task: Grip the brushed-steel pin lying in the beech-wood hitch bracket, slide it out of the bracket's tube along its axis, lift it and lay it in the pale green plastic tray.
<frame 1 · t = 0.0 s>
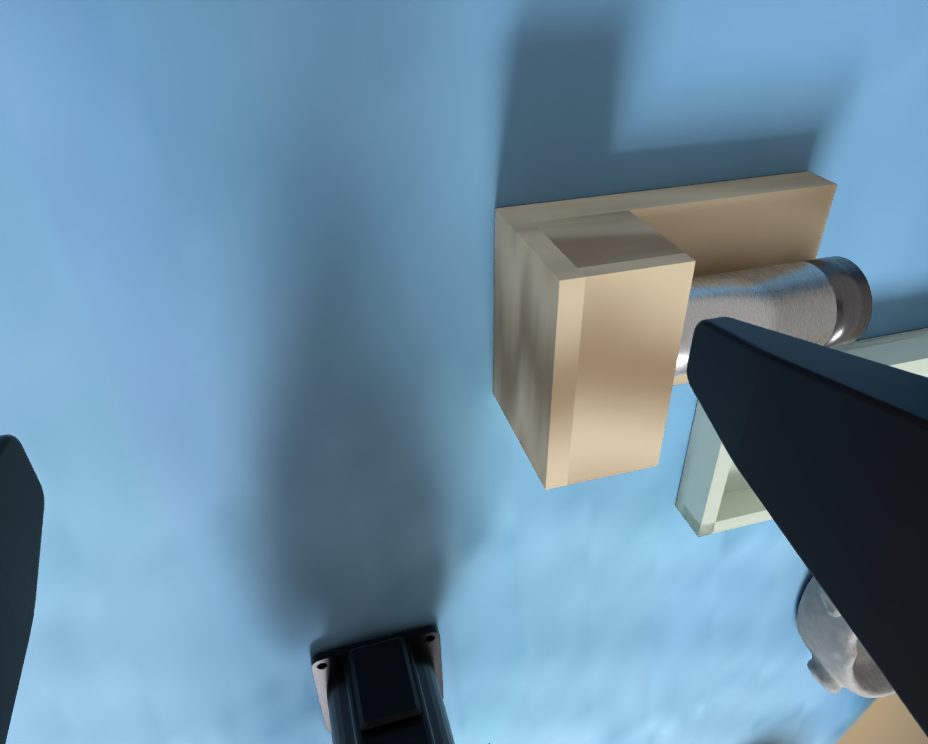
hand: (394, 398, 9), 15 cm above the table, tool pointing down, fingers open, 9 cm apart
bracket: (655, 284, 28), on the table
pin: (709, 322, 25), point 3 cm above the table, touching bracket
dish: (873, 565, 46), on the table
tray: (825, 414, 35), on the table
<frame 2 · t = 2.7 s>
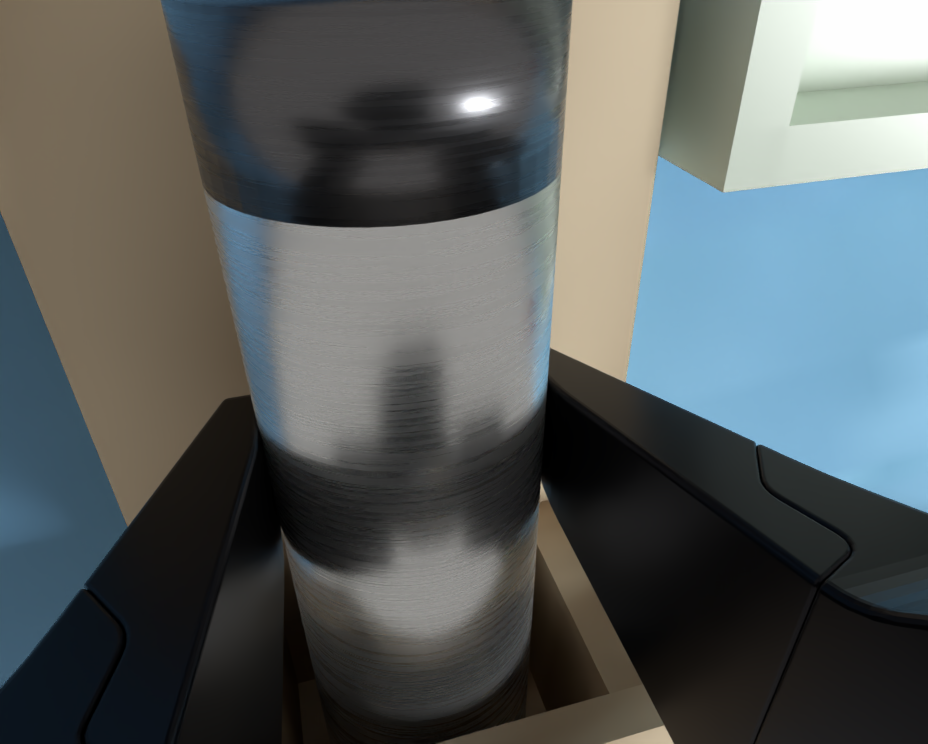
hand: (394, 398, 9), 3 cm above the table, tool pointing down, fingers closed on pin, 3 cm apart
bracket: (369, 362, 12), on the table
pin: (408, 470, 9), point 3 cm above the table, touching bracket, gripper
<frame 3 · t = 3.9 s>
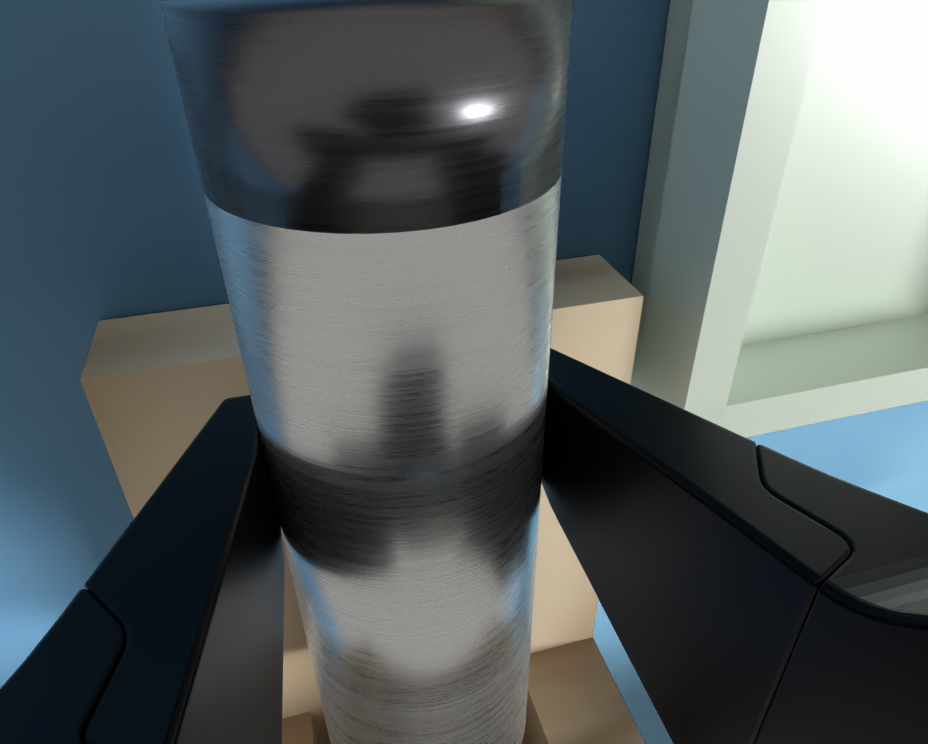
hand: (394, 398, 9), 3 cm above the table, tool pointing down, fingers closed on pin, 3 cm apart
bracket: (394, 544, 14), on the table
pin: (409, 472, 9), point 3 cm above the table, touching gripper
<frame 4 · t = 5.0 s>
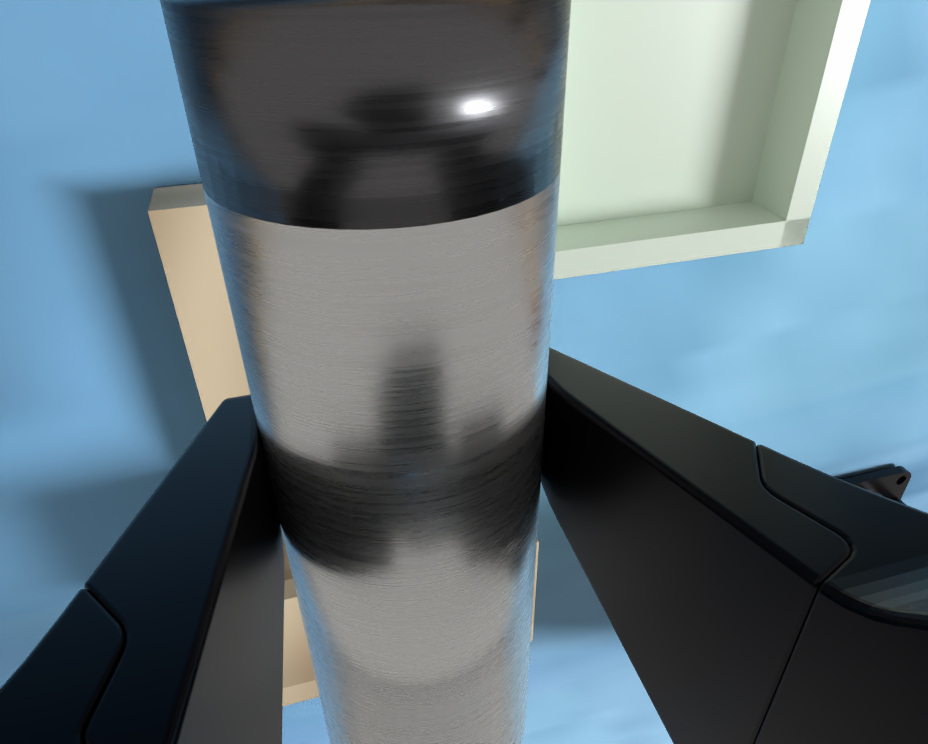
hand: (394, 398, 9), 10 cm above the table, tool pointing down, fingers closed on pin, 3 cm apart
bracket: (347, 369, 21), on the table
pin: (408, 470, 9), point 11 cm above the table, touching gripper
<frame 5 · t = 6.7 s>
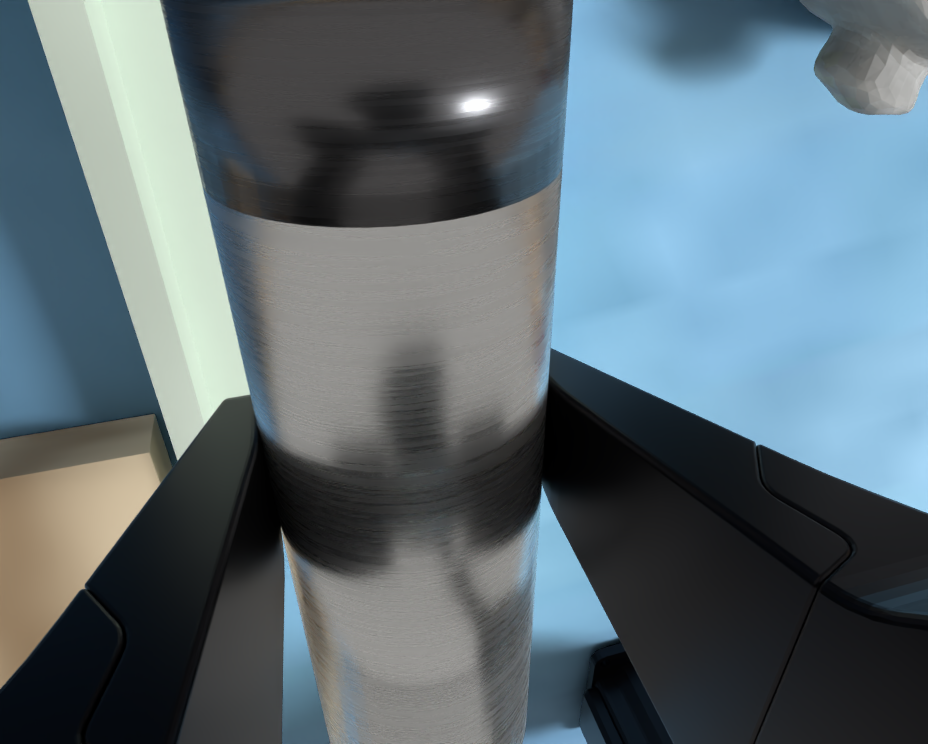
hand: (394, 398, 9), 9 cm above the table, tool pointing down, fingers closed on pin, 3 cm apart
bracket: (65, 598, 20), on the table
pin: (409, 470, 9), point 9 cm above the table, touching gripper
tray: (323, 206, 16), on the table
when the fingers open (3 cm above the table, at t = 7.8 s): pin drops 2 cm, resting on tray.
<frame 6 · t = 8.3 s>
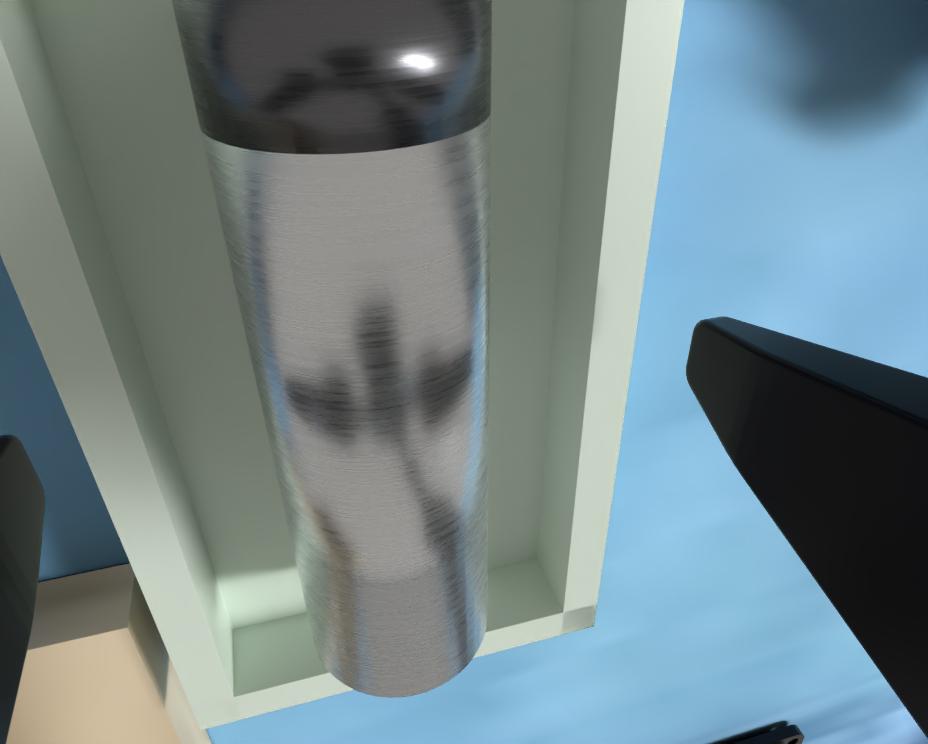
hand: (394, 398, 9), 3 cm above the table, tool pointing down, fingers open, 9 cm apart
pin: (376, 385, 11), point 2 cm above the table, touching tray
tray: (357, 308, 12), on the table
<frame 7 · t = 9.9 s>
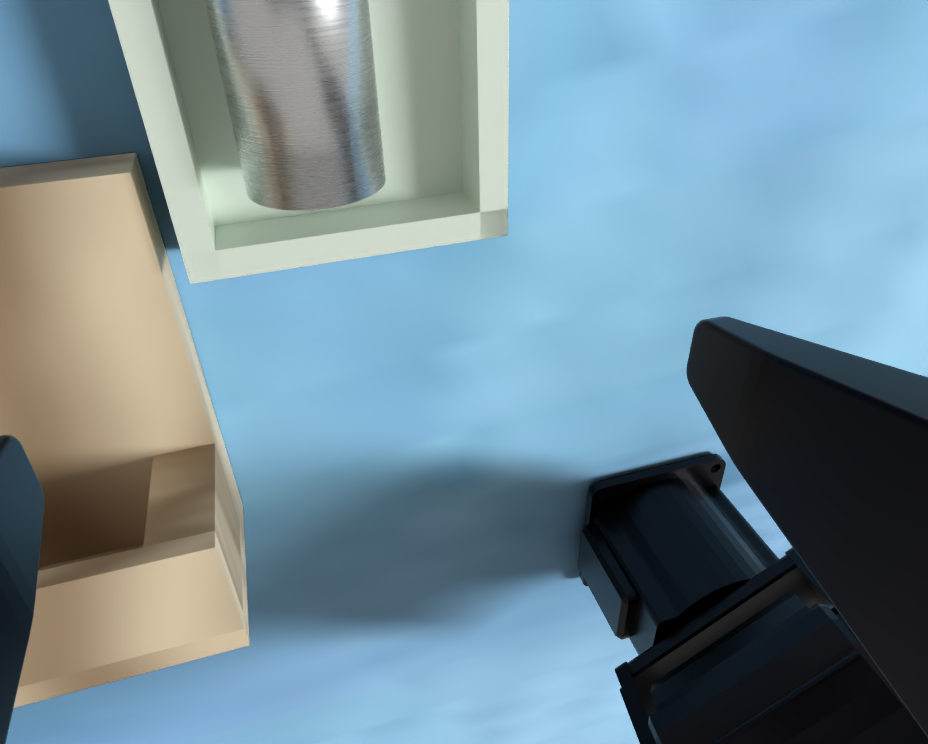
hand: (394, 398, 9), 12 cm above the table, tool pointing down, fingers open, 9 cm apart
bracket: (53, 373, 20), on the table
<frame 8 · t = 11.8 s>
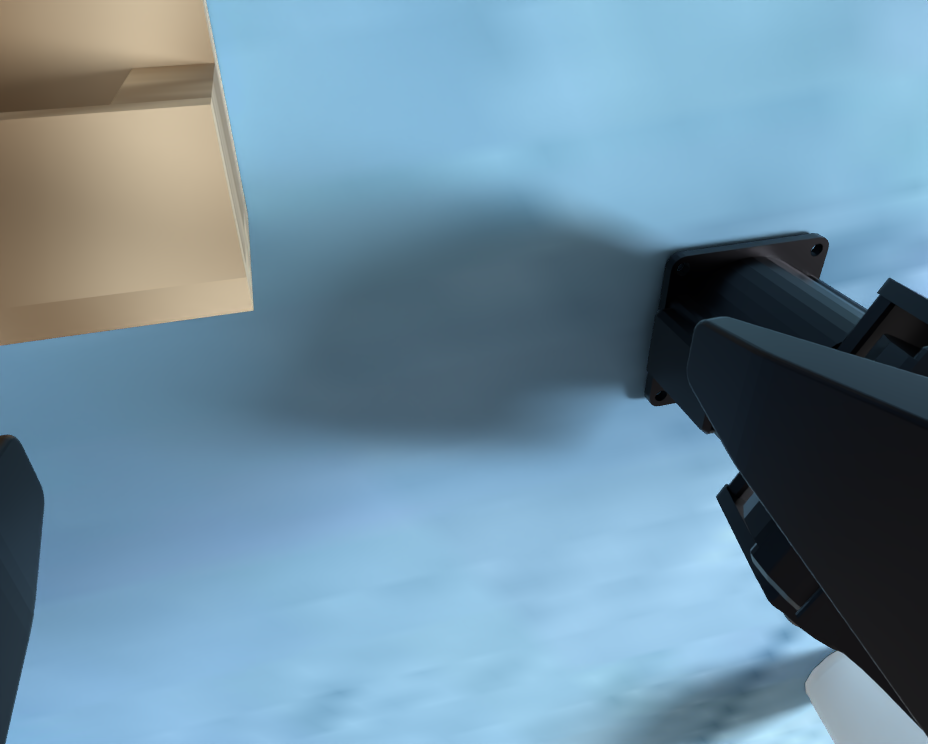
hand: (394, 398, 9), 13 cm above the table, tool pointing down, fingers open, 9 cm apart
foam cup: (843, 665, 47), on the table
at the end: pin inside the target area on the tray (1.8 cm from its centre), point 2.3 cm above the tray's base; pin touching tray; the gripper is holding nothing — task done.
